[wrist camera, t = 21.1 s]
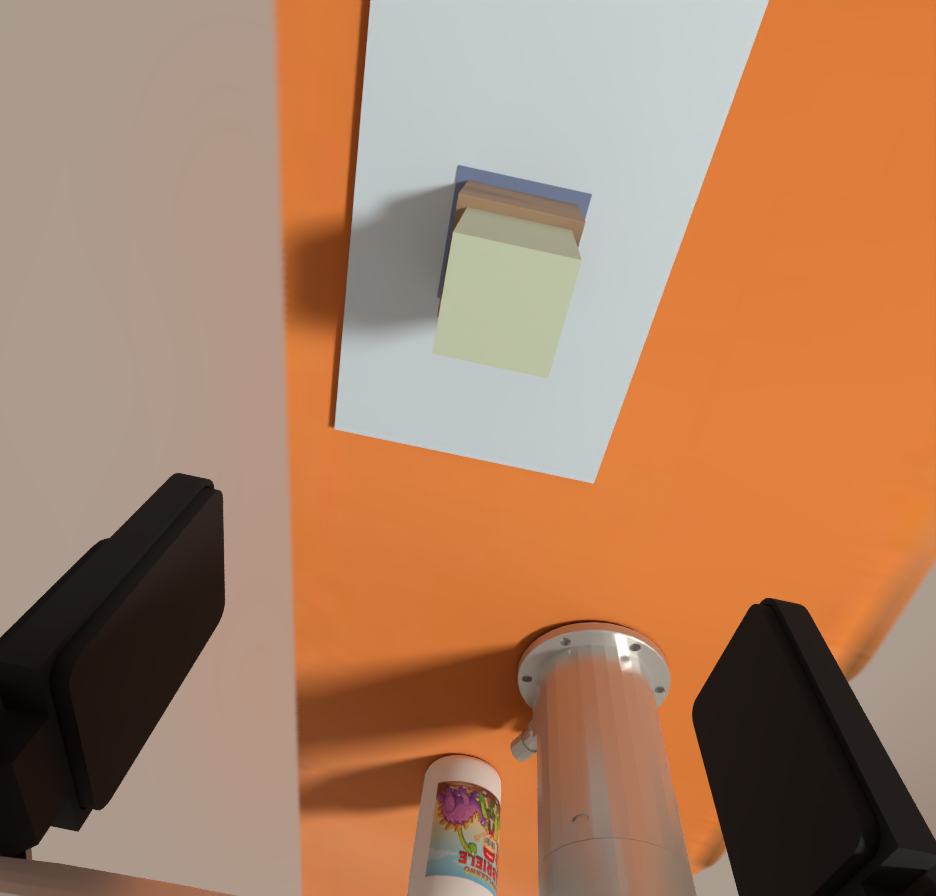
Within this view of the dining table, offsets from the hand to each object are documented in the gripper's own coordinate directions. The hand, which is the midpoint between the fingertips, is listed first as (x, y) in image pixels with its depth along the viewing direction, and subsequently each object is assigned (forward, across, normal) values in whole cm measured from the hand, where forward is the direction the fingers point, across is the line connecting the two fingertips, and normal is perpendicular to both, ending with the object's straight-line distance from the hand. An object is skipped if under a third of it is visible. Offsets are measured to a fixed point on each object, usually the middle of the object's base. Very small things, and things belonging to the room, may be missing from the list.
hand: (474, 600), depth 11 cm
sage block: (+22, 0, -1) cm, 22 cm away
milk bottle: (+29, -6, +51) cm, 58 cm away
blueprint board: (+27, 0, -1) cm, 27 cm away
